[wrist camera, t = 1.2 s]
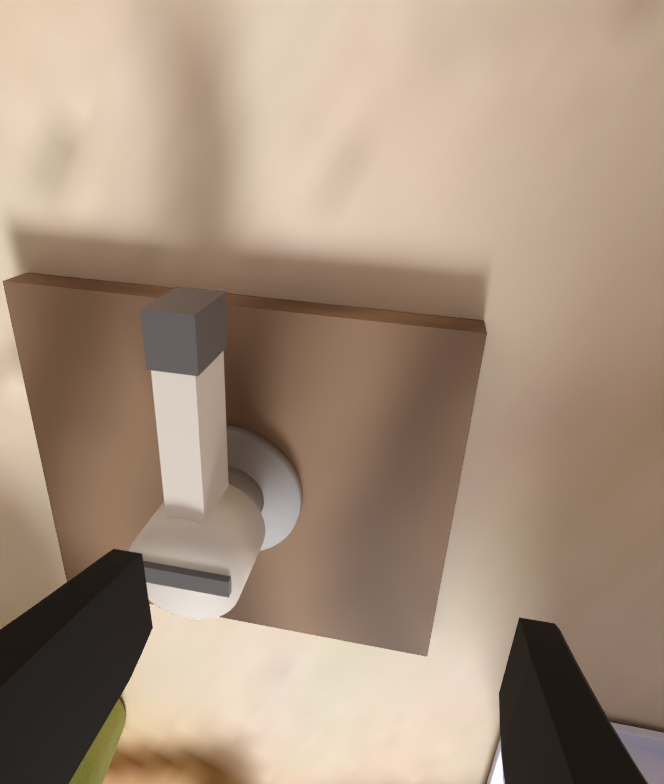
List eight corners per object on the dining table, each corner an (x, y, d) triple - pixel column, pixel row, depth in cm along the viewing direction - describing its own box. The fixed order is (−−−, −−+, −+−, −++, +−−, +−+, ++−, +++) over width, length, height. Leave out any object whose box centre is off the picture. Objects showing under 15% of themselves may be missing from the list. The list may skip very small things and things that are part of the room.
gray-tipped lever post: (265, 295, 15) (229, 327, 13) (265, 571, 19) (239, 635, 17) (140, 282, 15) (83, 311, 13) (168, 554, 20) (130, 614, 17)
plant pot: (115, 634, 28) (-13, 830, 20) (181, 755, 31) (95, 962, 23) (-31, 640, 30) (-194, 816, 22) (46, 752, 34) (-72, 937, 26)
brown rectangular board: (484, 320, 18) (491, 355, 15) (427, 632, 24) (425, 696, 21) (26, 272, 20) (-39, 295, 17) (83, 569, 26) (42, 619, 23)
